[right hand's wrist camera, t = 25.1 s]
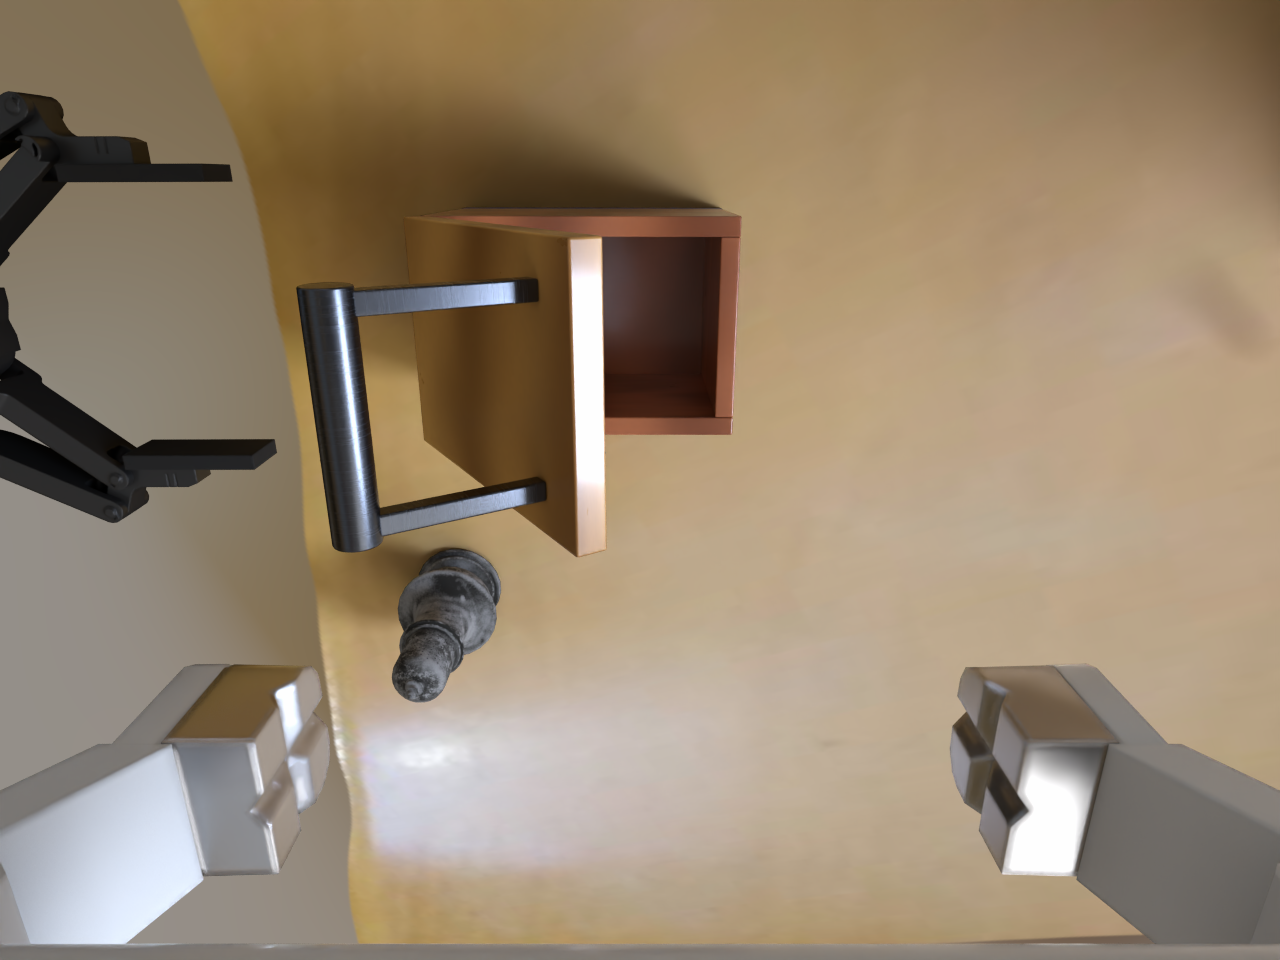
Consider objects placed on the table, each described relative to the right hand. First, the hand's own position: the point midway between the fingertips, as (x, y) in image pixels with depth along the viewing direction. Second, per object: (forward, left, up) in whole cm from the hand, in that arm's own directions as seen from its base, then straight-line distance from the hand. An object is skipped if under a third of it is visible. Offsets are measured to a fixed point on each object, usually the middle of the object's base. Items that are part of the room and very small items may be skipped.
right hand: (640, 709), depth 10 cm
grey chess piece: (+1, +22, -38) cm, 44 cm away
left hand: (+16, +10, -31) cm, 37 cm away
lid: (+4, +3, -22) cm, 22 cm away
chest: (+2, +1, -38) cm, 38 cm away
